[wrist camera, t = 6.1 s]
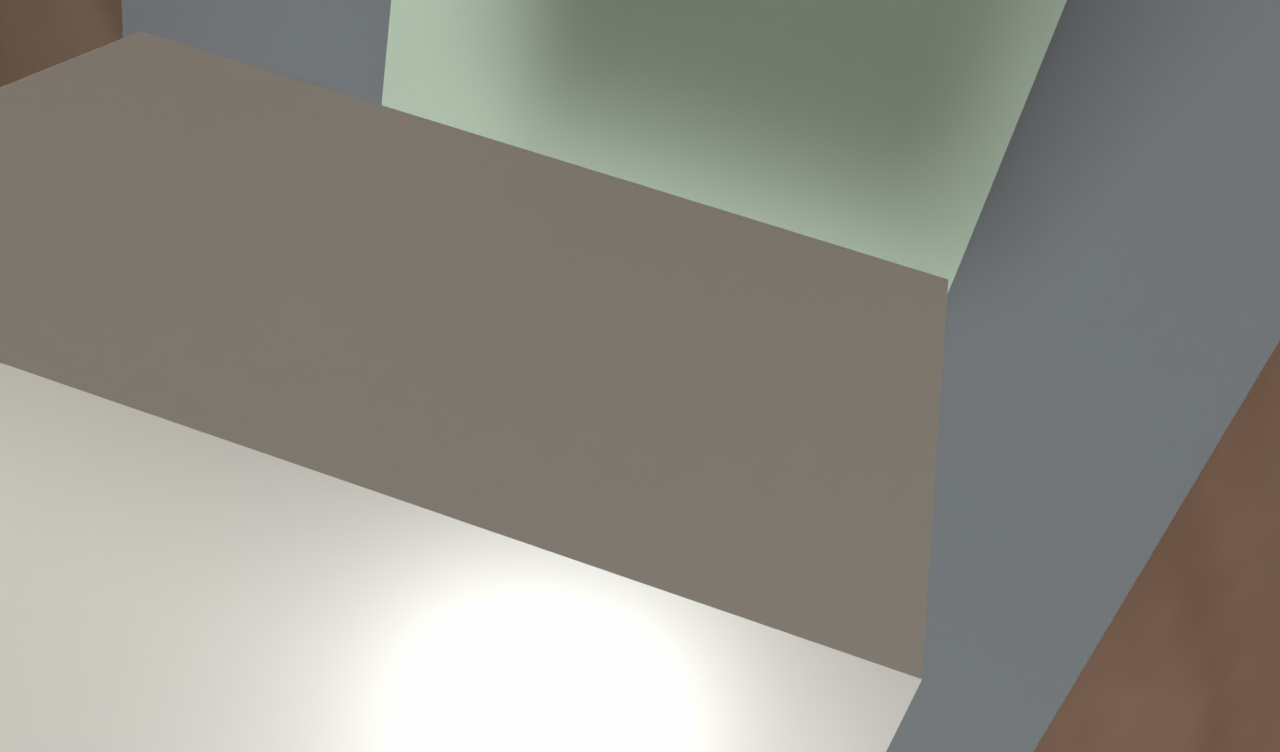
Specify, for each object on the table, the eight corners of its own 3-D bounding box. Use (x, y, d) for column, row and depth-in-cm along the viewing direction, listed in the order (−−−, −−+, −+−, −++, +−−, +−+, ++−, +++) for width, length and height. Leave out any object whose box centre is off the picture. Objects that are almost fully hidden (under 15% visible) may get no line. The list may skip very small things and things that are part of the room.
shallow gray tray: (872, 997, 21) (869, 1030, 20) (161, 732, 22) (142, 756, 22) (1460, -5, 11) (1482, 10, 11) (139, -358, 13) (104, -361, 12)
